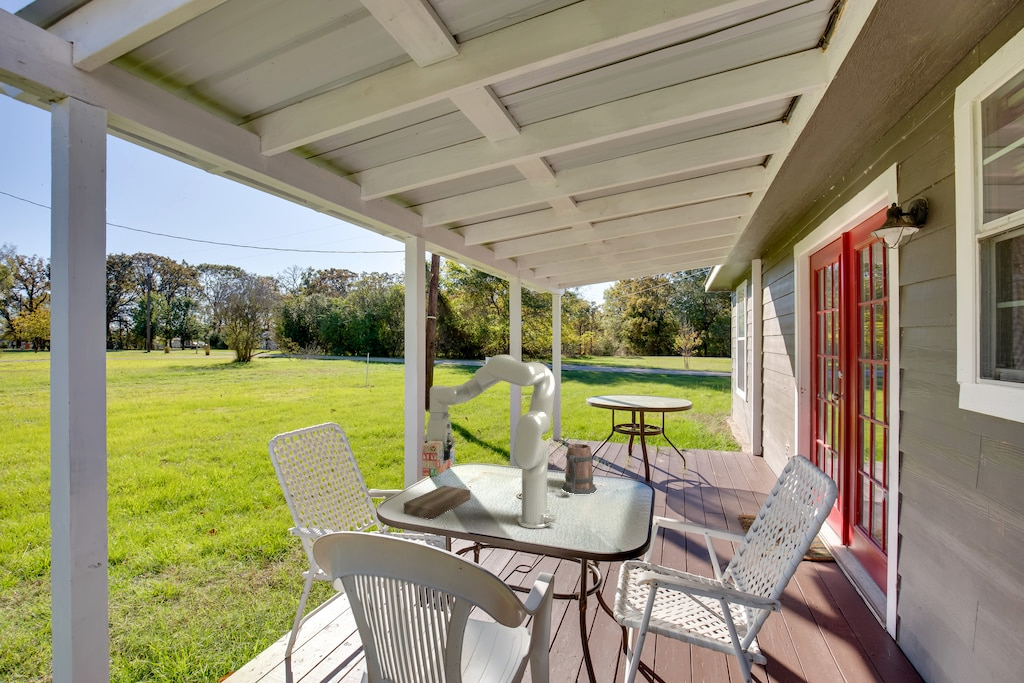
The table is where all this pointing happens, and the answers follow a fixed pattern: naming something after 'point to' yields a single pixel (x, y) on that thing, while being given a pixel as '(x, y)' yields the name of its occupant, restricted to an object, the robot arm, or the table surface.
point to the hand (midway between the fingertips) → (438, 458)
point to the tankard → (579, 470)
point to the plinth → (436, 502)
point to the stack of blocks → (436, 458)
